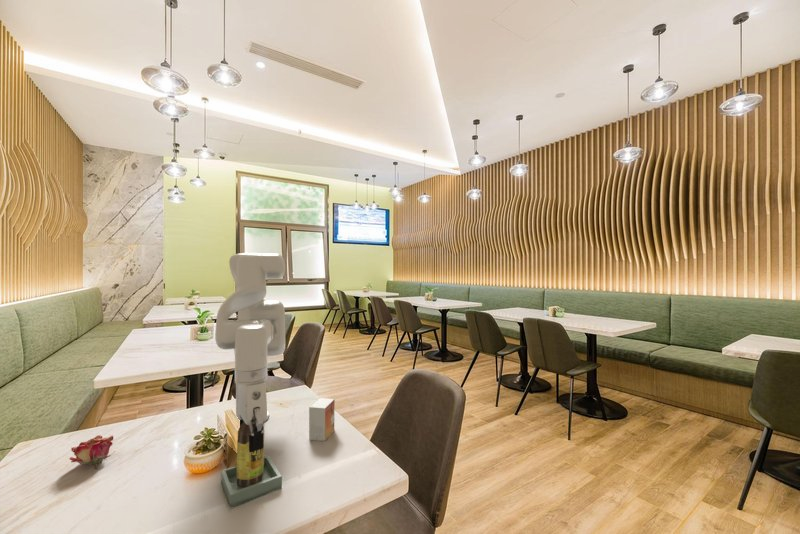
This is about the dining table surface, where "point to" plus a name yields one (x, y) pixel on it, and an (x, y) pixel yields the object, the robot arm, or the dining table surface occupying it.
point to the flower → (92, 451)
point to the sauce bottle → (248, 459)
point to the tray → (244, 494)
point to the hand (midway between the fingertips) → (251, 441)
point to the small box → (321, 419)
